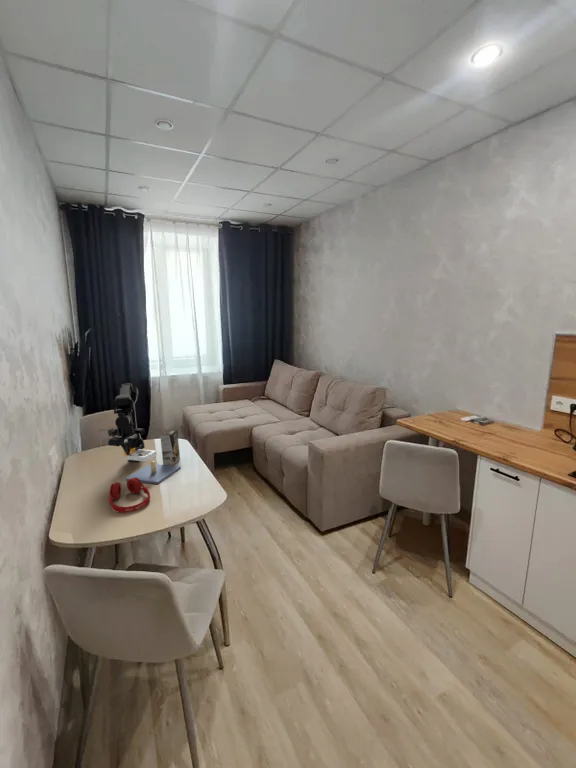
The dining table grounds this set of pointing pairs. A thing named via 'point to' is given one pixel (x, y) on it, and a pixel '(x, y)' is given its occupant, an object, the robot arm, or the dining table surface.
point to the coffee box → (170, 447)
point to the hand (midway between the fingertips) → (129, 453)
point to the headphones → (133, 487)
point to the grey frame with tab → (134, 454)
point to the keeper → (154, 473)
